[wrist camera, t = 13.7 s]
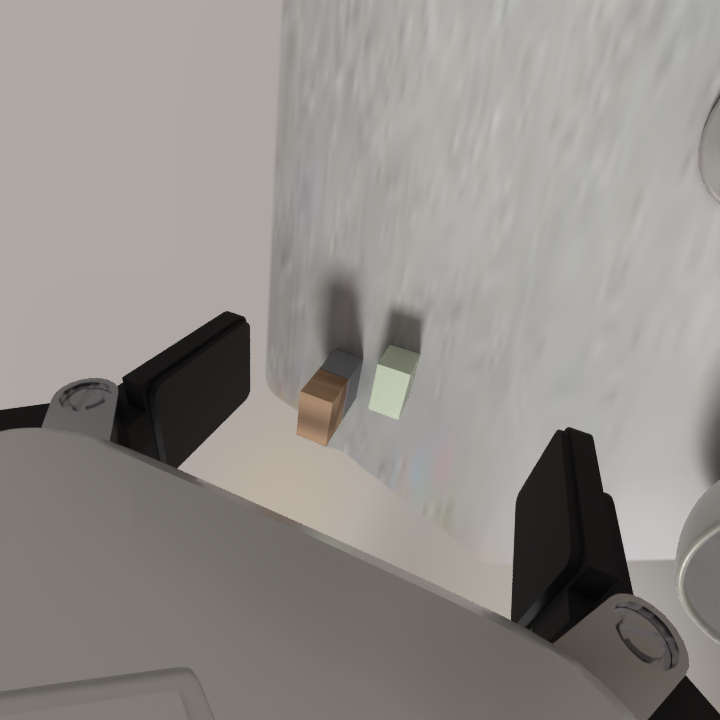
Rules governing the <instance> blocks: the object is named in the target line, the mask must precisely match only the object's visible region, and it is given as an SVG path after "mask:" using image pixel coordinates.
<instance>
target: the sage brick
mask: <svg viewBox="0 0 720 720" xmlns="http://www.w3.org/2000/svg"><path fill="white" fill-rule="evenodd" d="M419 357H420V354H418V353H415V352H412V351H409V350H406V349H403V348H399V347H396V346H393V345H389V346H388V348H387V350H386V351H385V353H384V354H383V356H382V358H381V359H380V361H379V363H378V364H377V369H376V374H375V379H374V384H373V389H372V393H371V398H370V403H369V408H368V409H370V410H372V411H375V412H378V413H381V414H384V415H386V416H389V417H392V418H395V419H398V420H399V418H400V415H401V413H402V411H403V408H404V406H405V404H406V402H407V399H408V397H409V393H410V389H411V386H412V382H413V379H414V375H415V371H416V368H417V364H418V361H419Z"/></svg>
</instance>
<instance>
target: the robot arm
mask: <svg viewBox="0 0 720 720" xmlns="http://www.w3.org/2000/svg"><path fill="white" fill-rule="evenodd" d="M699 168H700V172H701V176H702V180H703V182H704V184H705V186H706V187H707V189H708V191H709V193H710V194H711V195H712V196H713V197H714V198H715V199H716V200H717V201H718V202H719V203H720V99H719V100H718V102H717V104H716V105H715V107H714V109H713V110H712V112H711V114H710V116H709V118H708V121H707V123H706V125H705V128H704V130H703V133H702V138H701V142H700V147H699ZM122 379H123V383H121V384H120V385H118V386H116V384H115V383H113V382H111V381H109V380H106V379H101V378H89V379H83V380H79V381H76V382H72V383H70V384H68V385H66V386H64V387H62V388H61V389H60V390H58V391H57V392H56V393H55V395H54V397H53V398H52V400H51V403H48V404H41V405H33V406H26V407H19V408H12V409H5V410H0V720H720V714H719V713H718V712H717V711H716V709H715V708H714V707H713V706H712V705H711V704H710V703H709V701H708V700H707V699H706V698H705V697H704V696H703V695H702V693H701V692H700V691H699V690H698V689H697V688H696V687H695V685H694V684H693V683H692V682H691V681H690V680H689V679H688V677H687V676H686V672H687V670H688V668H689V659H688V653H687V650H686V647H685V644H684V641H683V640H682V638H681V637H680V635H679V633H678V631H677V630H676V628H675V627H674V626H673V625H672V623H671V622H670V621H669V620H668V619H667V618H666V616H665V615H664V614H662V613H661V612H660V611H659V610H658V609H656V608H655V607H654V606H653V605H651V604H650V603H648V602H646V601H645V600H643V599H641V598H639V597H636V596H634V595H633V591H632V586H631V581H630V577H629V572H628V567H627V562H626V558H625V553H624V548H623V543H622V539H621V534H620V529H619V524H618V520H617V515H616V510H615V505H614V502H613V499H612V497H611V496H610V495H609V494H607V493H604V492H603V487H602V482H601V477H600V471H599V466H598V461H597V456H596V450H595V445H594V440H593V436H592V435H591V434H588V433H585V432H582V431H579V430H576V429H573V428H570V427H568V428H566V429H565V431H562V430H557V431H556V433H555V434H554V436H553V437H552V439H551V441H550V442H549V444H548V446H547V447H546V449H545V451H544V452H543V454H542V456H541V457H540V459H539V461H538V462H537V464H536V466H535V467H534V469H533V470H532V472H531V474H530V475H529V477H528V479H527V480H526V482H525V484H524V485H523V487H522V489H521V490H520V492H519V494H518V497H517V500H516V509H515V533H514V557H513V583H512V606H511V607H512V608H511V620H509V619H507V618H505V617H503V616H501V615H499V614H497V613H495V612H493V611H491V610H489V609H487V608H485V607H482V606H480V605H478V604H476V603H474V602H472V601H470V600H468V599H466V598H463V597H461V596H459V595H457V594H455V593H453V592H451V591H449V590H446V589H444V588H442V587H440V586H438V585H436V584H434V583H431V582H429V581H427V580H425V579H422V578H420V577H418V576H416V575H414V574H411V573H409V572H407V571H405V570H403V569H401V568H398V567H396V566H394V565H392V564H390V563H387V562H385V561H383V560H381V559H378V558H376V557H374V556H372V555H370V554H367V553H365V552H363V551H361V550H359V549H356V548H354V547H352V546H350V545H348V544H345V543H343V542H341V541H339V540H336V539H334V538H332V537H330V536H327V535H325V534H323V533H321V532H318V531H316V530H314V529H312V528H310V527H307V526H305V525H303V524H301V523H298V522H296V521H294V520H292V519H289V518H287V517H285V516H283V515H281V514H278V513H276V512H274V511H272V510H269V509H267V508H265V507H262V506H260V505H258V504H256V503H253V502H251V501H249V500H246V499H245V498H242V497H240V496H238V495H235V494H233V493H231V492H229V491H226V490H224V489H222V488H220V487H217V486H215V485H213V484H210V483H208V482H206V481H204V480H201V479H199V478H197V477H195V476H192V475H190V474H188V473H185V472H183V471H181V470H179V469H177V468H178V467H179V466H180V465H181V464H182V463H183V462H184V461H185V460H186V459H187V458H188V457H189V456H190V455H191V454H192V453H193V452H194V451H195V450H196V449H197V448H198V447H199V446H200V445H201V444H202V443H203V442H204V441H205V440H206V439H207V438H208V437H209V436H210V435H211V434H212V433H213V432H214V431H215V430H216V429H217V428H218V427H219V426H220V425H221V424H222V423H223V422H224V421H225V420H226V419H227V418H228V417H229V416H230V415H231V414H232V413H233V412H234V411H235V410H236V409H237V408H238V407H239V406H240V405H241V404H242V403H243V402H244V401H245V400H246V399H247V397H248V395H249V392H250V325H249V324H248V323H247V322H246V319H245V317H243V316H240V315H237V314H235V313H231V312H228V311H226V312H223V313H222V314H220V315H219V316H217V317H216V318H214V319H213V320H211V321H209V322H208V323H206V324H205V325H203V326H202V327H200V328H198V329H197V330H195V331H194V332H192V333H191V334H189V335H188V336H186V337H184V338H183V339H181V340H180V341H178V342H177V343H175V344H174V345H172V346H171V347H169V348H167V349H166V350H164V351H163V352H161V353H160V354H158V355H157V356H155V357H153V358H152V359H150V360H149V361H147V362H146V363H144V364H143V365H141V366H139V367H138V368H136V369H135V370H133V371H132V372H130V373H128V374H127V375H125V376H124V377H123V378H122Z"/></svg>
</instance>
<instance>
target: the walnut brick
mask: <svg viewBox="0 0 720 720" xmlns="http://www.w3.org/2000/svg"><path fill="white" fill-rule="evenodd" d="M348 381H349V379H346V378H343V377H340V376H337V375H335V374H332V373H329V372H326V371H323V370H321V369H319V370H318V371H317V372H316V373H315V375H314V376H313V377H312V378H311V379H310V381H309V382H308V383H307V384H306V385H305V387H304V388H303V389H302V390H301V391H300V402H299V413H298V425H297V435H299V436H301V437H304V438H306V439H309V440H311V441H314V442H316V443H319V444H321V445H324V446H326V445H327V444H328V442H329V440H330V439H331V437H332V436H333V434H334V432H335V431H336V429H337V427H338V426H339V424H340V423H341V421H342V415H343V410H344V404H345V398H346V393H347V387H348Z"/></svg>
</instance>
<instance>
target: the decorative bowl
mask: <svg viewBox="0 0 720 720" xmlns="http://www.w3.org/2000/svg"><path fill="white" fill-rule="evenodd" d="M675 581H676V588H677V593H678V596H679V599H680V602H681V604H682V606H683V608H684V609H685V611H686V612H687V614H688V615H689V617H690V618H691V619H692V621H693V622H695V624H696V625H697V626H698V627H699V628H700V629H701V630H702V631H703V632H704V633H705V634H706V635H708V636H709V637H710V638H711V639H713V640H714V641H715V642H717V643H718V644H720V480H718V481H717V482H716V483H715V484H713V485H712V486H711V487H710V488H709V489H708V490H707V491H706V492H705V493H704V494H703V496H702V497H701V498H700V499H699V500H698V502H697V503H696V504H695V506H694V507H693V509H692V510H691V512H690V514H689V516H688V518H687V520H686V522H685V524H684V527H683V529H682V532H681V535H680V539H679V543H678V548H677V553H676V563H675Z"/></svg>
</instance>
